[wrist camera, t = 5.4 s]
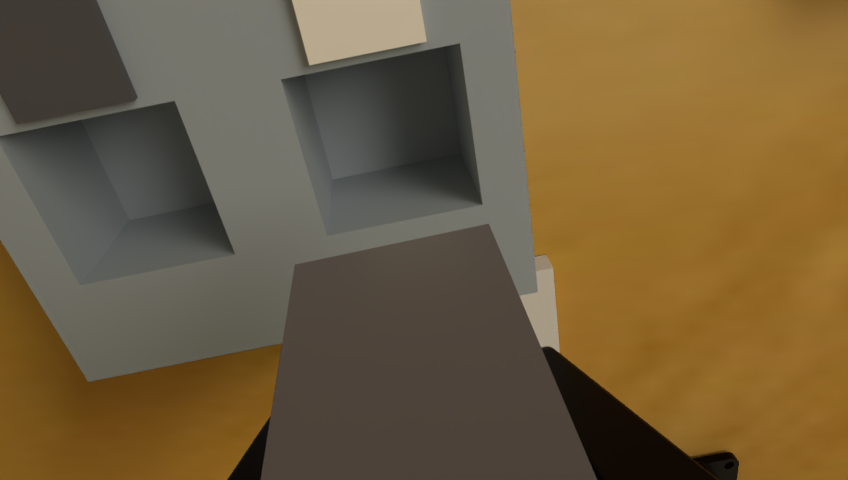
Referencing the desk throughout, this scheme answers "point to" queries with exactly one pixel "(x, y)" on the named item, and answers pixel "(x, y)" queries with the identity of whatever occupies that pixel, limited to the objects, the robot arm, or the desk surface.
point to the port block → (243, 157)
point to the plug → (416, 371)
